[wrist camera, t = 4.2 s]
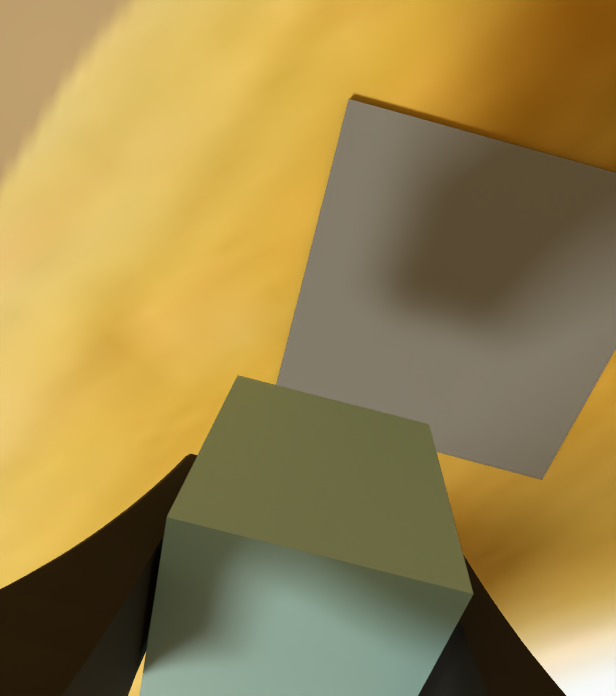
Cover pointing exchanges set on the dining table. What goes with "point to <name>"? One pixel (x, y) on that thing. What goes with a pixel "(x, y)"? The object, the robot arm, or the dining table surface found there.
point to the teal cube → (306, 555)
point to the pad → (458, 287)
